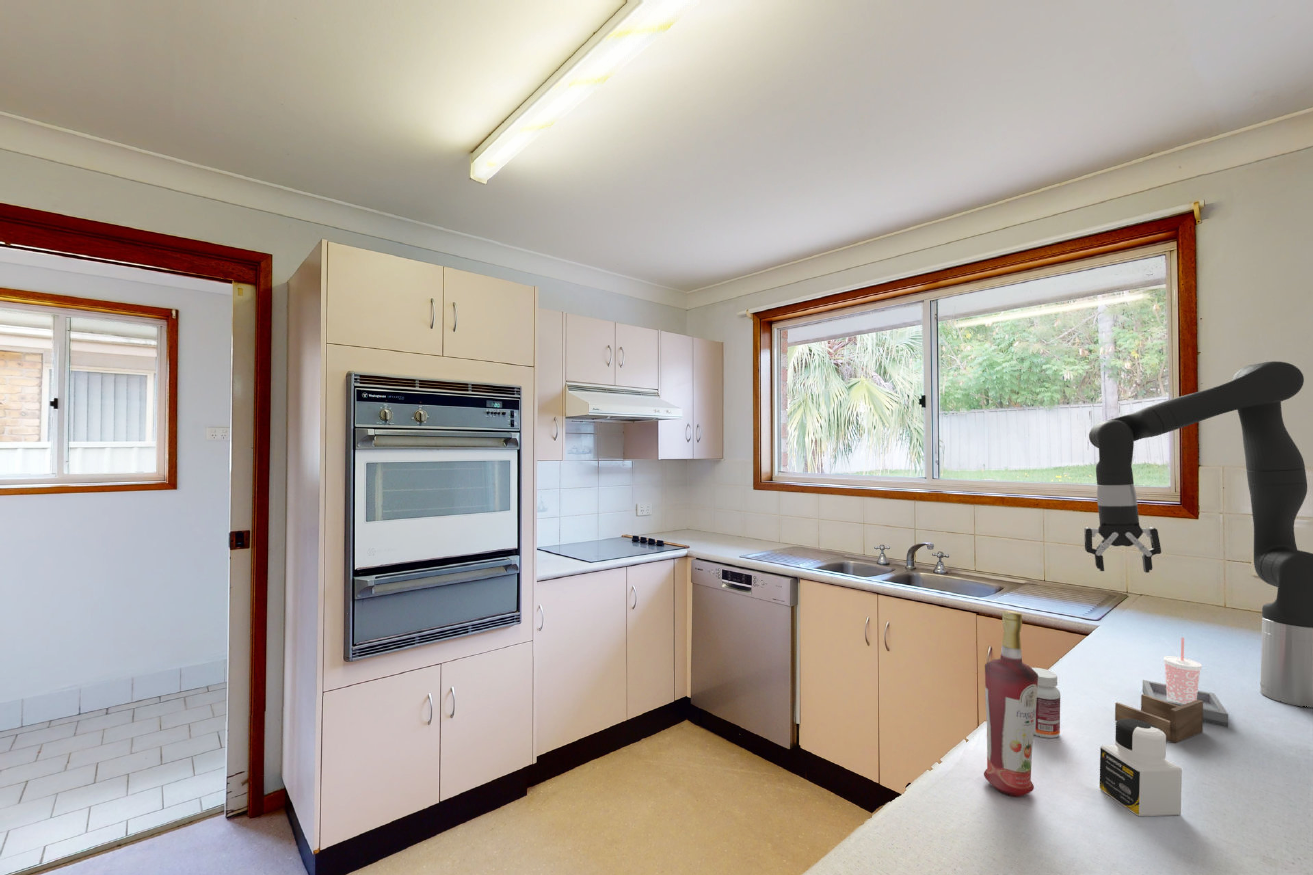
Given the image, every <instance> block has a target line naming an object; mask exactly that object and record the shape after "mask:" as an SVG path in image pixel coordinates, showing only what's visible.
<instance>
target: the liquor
mask: <svg viewBox="0 0 1313 875" xmlns="http://www.w3.org/2000/svg"><path fill="white" fill-rule="evenodd" d="M1001 615H1002V616H1001V617H1002V627H1003V636H1002V643H1001V650H1000V658H995V659H992V660H989V661H988V662H986V663H985V664H984V686H985V687H984V688H985V692H984V693H985V712H986V749H987V750H986V751H987V752H986V755H987V756H986V757H987V758H986V766H987V767H986V769H985V770H984V772H983V776H984V779H986V780H987V782H988V783H989V784H990V785H991V786H992V787H993V788H994V789H995V790H996V791H998V793H999V792H1000V793H1001V794H1003V795H1007V796H1009V797H1015V798H1020V797H1023V796H1025V795H1028V794H1030V793H1032V792H1033V791H1034V789H1035V786H1034V783H1033V782H1032V761H1033V760H1032V759H1033V748H1034V746H1033V744H1034V734H1033V732H1034V722H1035V712H1036V700H1037V685H1038V674H1037V673H1036V672H1035V671H1034V670H1033V669H1032V668H1033V667H1031V666H1029V665H1027V664H1026V663H1024V662H1023V656H1022V643H1021V642H1022V641H1021V630H1022V626H1023V614H1022V613H1021V612H1018V611H1016V610H1002V614H1001Z"/></svg>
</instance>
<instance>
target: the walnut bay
mask: <svg viewBox="0 0 1313 875" xmlns="http://www.w3.org/2000/svg"><path fill="white" fill-rule="evenodd" d="M1140 702H1141V703H1140V709H1137V708H1135V707H1132V706H1129V705H1126V704H1124V703H1121V702H1118V701H1117V702H1115V703H1114V704H1115V708H1114V710H1115V712H1114V720H1115V722H1117V721H1118V720H1121V719H1136V720H1140V721H1144V722H1147V723H1150V724H1152V725H1154V726H1156V727H1158V728H1159V729H1161V730H1162V731H1163V732H1164V733H1165V735H1166V741H1168V742H1171V743H1173V744H1176V743H1180V742H1181V741H1184V740H1187V739H1189V738H1192V737H1194V736H1197V735H1198V734H1201V733H1203V725H1204V724H1203V723H1204V722H1203V701H1201V700H1195V701H1192V702H1190V703H1187V704H1184V705H1181V706H1177V705H1174V704H1171V703H1168V702H1165V701H1163V700H1160V699H1157V698H1154V697H1151V696H1148V695H1145V694H1143V693H1142V694H1141V695H1140Z"/></svg>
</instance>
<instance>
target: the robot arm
mask: <svg viewBox="0 0 1313 875" xmlns="http://www.w3.org/2000/svg"><path fill="white" fill-rule="evenodd" d="M1304 380H1305V377H1304V374H1303V372H1302V371H1301V369H1299V368H1298V367H1297V366H1296V365H1293V364H1292V363H1289V362H1286V361H1276V360H1275V361H1265V362H1259V363H1254V364H1249V365H1246V366H1243V367H1242V368H1240V369H1239V370H1238V371H1237V372H1236V373H1234V375H1233V378H1232V380H1231V381H1229V382H1226V383H1222V384H1220V385H1217V386H1214V387H1211V388H1208V389H1204V390H1199V391H1196V392H1193V393H1189V394H1185V395H1182V396H1177V397H1174V398H1171V399H1167V400H1164V401H1161V402H1158V403H1155V404H1152V405H1150V406H1147V407H1144V408H1141V409H1140V410H1137V411H1134V412H1132V413H1128V414H1124V415H1122V416H1118V417H1114V418H1111V419H1108V420H1105V421H1104V420H1103V421H1101V422H1099V423H1097V424H1095V425H1093V427H1092V428H1091V429H1090V430H1089V434H1088V439H1089V442H1090V443H1091V445H1092V446H1093V447H1095V448H1097V449H1098V455H1099V456H1098V457H1099V458H1098V462H1097V464H1096V465H1095V476H1096V485H1097V489H1096V498H1097V499H1096V503H1097V509H1098V518H1099V527H1098V528H1093V527H1092V528H1090V527H1088V526H1087V527H1085V528H1084V531H1083V532H1084V551H1086V552H1087V553H1088V554H1089V553H1090V554H1091V555H1094V560H1095V561H1094V562H1095V567H1096V568H1097V569H1099V571H1100V572H1105V565H1104V564H1105V563H1104V556H1103V554H1104V552H1105V551H1106V550H1107V549H1108V548H1109V547H1110V546H1113V547H1121V546H1124V547H1131V546H1134V547H1136V548H1137V549H1138V550H1139V551H1140V552H1141V553H1142V556H1141V558H1142V565H1143V566H1142V568H1143V572H1144V573H1150V571H1152V570H1153V560H1152V557H1153V556H1154V555H1160V554H1161V553H1162V548H1161V541H1160V537H1159V536H1160V535H1159V531H1158V529H1157V528H1155V527H1153V526H1150V527H1145V528H1143V527H1141V525H1140V520H1139V517H1140V516H1139V508H1138V498H1137V492H1136V489H1135V483H1134V473H1133V472H1134V471H1133V467H1132V463H1133V456H1134V446H1135V445H1134V444H1135V443H1134V442H1137V441H1138V440H1142V439H1146V438H1153V437H1156V436H1161V435H1164V434H1167V433H1170V432H1173V431H1177V430H1179V429H1181V428H1184V427H1188V426H1191V425H1193V424H1196V423H1197V424H1198V423H1199V422H1202V421H1205V420H1207V419H1211V418H1213V417H1216V416H1220V415H1223V414H1226V413H1230V412H1233V411H1237V414H1238V417H1239V421H1240V426H1241V432H1242V434H1241V435H1242V444H1243V449H1244V452H1243V453H1244V458H1245V468H1246V478H1247V484H1248V486H1247V487H1248V491H1249V495H1250V503H1251V504H1250V505H1251V514H1252V523H1253V566H1254V570H1255V573H1256V575H1257V576H1258V578H1259V579H1261V581H1263V582H1264V583H1266V584H1268V585H1270V586H1273V587H1276V588H1277V592H1276V593H1277V594H1276V599H1275V601H1273V602H1267V603H1265V604H1263V606H1262V609H1261V647H1260V648H1261V649H1260V650H1261V652H1260V682H1259V684H1260V687H1259V688H1260V690H1259V691H1260V693H1261V694H1262V695H1263V696H1265V697H1266V698H1269V699H1272V700H1275V701H1278V702H1280V701H1281V703H1284V704H1289V705H1293V706H1297V707H1298V706H1299V707H1303V706H1305V707H1304V708H1313V553H1311V552H1309V551H1308V552H1307V551H1304V550H1300V549H1299V550H1298V547H1297V543H1296V537H1295V535H1296V534H1295V521H1296V518H1297V515H1298V513H1299V511H1300V510H1301V508H1302V505H1303V504H1304V501H1305V499H1306V496H1307V493H1308V480H1307V472H1306V467H1305V466H1306V465H1305V461H1304V457H1303V455H1302V454H1301V452H1300V450H1299V448H1298V447H1297V444H1296V443H1295V441H1294V440H1293V438H1292V437H1291V435H1290V434H1289V432H1288V430H1287V428H1286V426H1285V423H1284V420H1283V413H1282V412H1283V411H1282V402H1283V401H1286V400H1289V399H1291V398H1292V397H1294V396H1295V395H1297V394H1298V393H1299V392H1300V391H1301V390H1302V388H1303V385H1304V382H1305V381H1304ZM1097 534H1099V535H1100V536H1101V537H1102V538H1103V539H1102V540H1101V541H1100V542H1099V544H1098V546H1096V548H1093V538H1095V537H1096V535H1097ZM1143 534H1145V536H1146V537H1148V538H1149V540H1150V545H1151V546H1150V547H1151V548H1150V549H1148V548H1147V547H1146V546H1145V545H1144V544H1143V543H1142V542H1141V541H1140V540H1139V539H1140V538H1141V536H1142V535H1143ZM1306 706H1307V707H1306Z"/></svg>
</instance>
